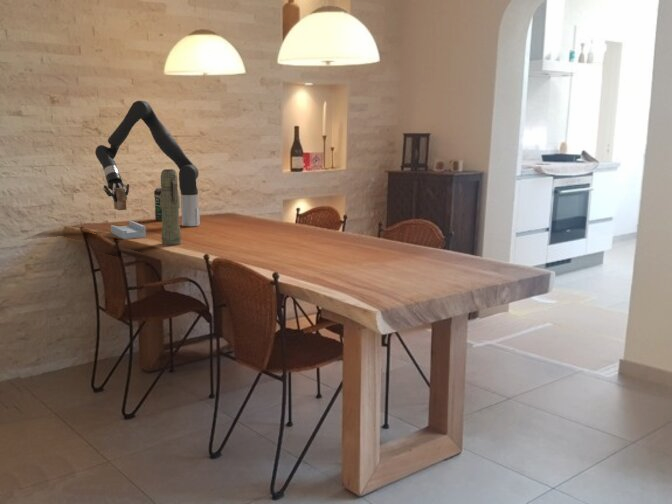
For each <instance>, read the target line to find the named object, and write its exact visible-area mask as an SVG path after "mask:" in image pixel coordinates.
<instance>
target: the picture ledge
mask: <svg viewBox="0 0 672 504" xmlns="http://www.w3.org/2000/svg"><path fill="white" fill-rule="evenodd" d="M110 233H111V234H112V235H115V236H117V237H119V238H120V239H123V240H130V239H142V238H147V227H146V226H145V225H143V224H141V223H139V222H136V221H133V220H128V225H121V226H119V225H118V226H116V225H114V224H111V225H110Z"/></svg>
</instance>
